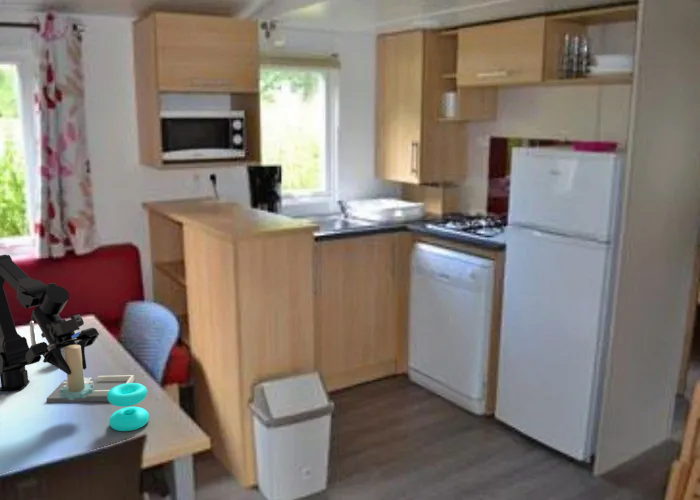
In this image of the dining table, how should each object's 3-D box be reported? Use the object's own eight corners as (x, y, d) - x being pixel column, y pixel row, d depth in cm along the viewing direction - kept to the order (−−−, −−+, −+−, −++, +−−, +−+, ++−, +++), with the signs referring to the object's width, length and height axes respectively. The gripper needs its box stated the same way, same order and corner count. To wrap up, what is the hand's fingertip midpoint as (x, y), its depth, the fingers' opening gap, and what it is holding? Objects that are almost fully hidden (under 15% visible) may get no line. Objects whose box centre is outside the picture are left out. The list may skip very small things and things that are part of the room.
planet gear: (54, 400, 172) (49, 353, 170) (67, 386, 181) (62, 341, 178) (87, 399, 173) (83, 352, 170) (98, 386, 181) (94, 341, 178)
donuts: (144, 378, 178) (149, 392, 169) (147, 412, 180) (151, 428, 171) (105, 384, 174) (108, 399, 165) (108, 419, 176) (111, 436, 167)
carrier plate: (47, 402, 187) (45, 389, 186) (64, 383, 200) (63, 371, 199) (122, 400, 188) (121, 387, 187) (135, 382, 200) (134, 370, 200)
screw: (24, 358, 221) (38, 354, 225) (32, 361, 218) (46, 357, 222) (20, 321, 218) (34, 317, 222) (28, 323, 215) (42, 320, 219)
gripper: (26, 316, 167) (54, 366, 163) (92, 299, 182) (119, 345, 178) (13, 339, 173) (40, 388, 169) (78, 321, 188) (104, 366, 184)
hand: (77, 371), depth 175 cm, fingers closed on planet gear, 4 cm apart
